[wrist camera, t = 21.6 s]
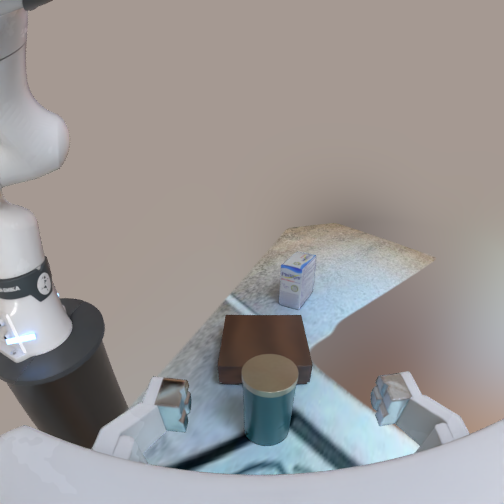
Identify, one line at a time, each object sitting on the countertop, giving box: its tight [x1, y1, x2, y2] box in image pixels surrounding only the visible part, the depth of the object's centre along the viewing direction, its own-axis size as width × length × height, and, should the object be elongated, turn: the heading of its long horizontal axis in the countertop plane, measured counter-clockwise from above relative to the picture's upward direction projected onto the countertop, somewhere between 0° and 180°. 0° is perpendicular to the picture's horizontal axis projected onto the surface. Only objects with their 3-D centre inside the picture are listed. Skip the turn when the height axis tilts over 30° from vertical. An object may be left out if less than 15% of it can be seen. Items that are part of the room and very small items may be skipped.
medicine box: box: [279, 251, 317, 310], centre depth 57 cm, size 8×4×9 cm, turn 150°
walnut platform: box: [218, 315, 312, 384], centre depth 41 cm, size 12×12×4 cm
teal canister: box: [242, 354, 299, 446], centre depth 28 cm, size 5×5×10 cm
